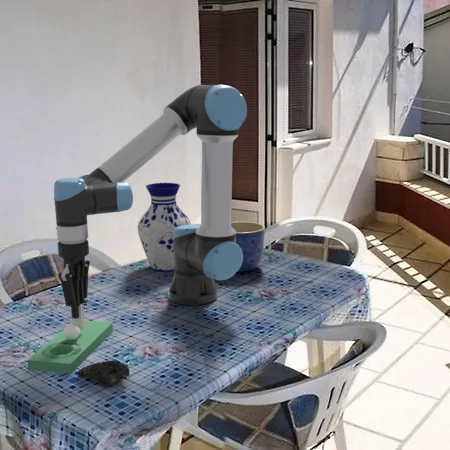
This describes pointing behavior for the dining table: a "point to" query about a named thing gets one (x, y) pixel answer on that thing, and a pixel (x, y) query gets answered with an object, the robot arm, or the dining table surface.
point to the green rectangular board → (70, 349)
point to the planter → (250, 243)
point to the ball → (71, 332)
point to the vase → (161, 225)
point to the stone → (105, 372)
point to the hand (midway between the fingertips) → (78, 328)
